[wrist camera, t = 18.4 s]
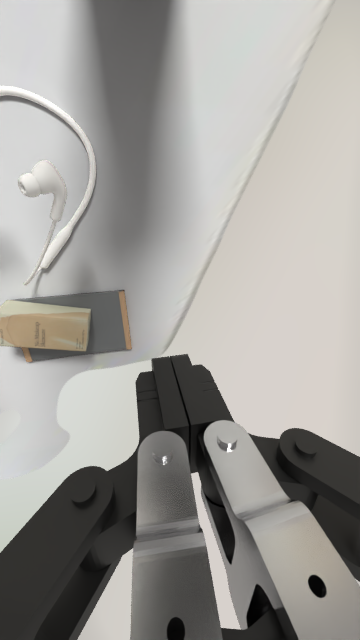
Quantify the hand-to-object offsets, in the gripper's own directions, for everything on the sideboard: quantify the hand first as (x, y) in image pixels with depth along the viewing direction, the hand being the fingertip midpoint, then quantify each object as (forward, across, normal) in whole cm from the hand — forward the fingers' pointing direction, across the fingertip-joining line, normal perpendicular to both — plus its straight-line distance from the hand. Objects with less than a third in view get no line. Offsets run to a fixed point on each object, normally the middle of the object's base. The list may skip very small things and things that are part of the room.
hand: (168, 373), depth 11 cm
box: (+26, +8, +11) cm, 29 cm away
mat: (+28, +10, +12) cm, 32 cm away
